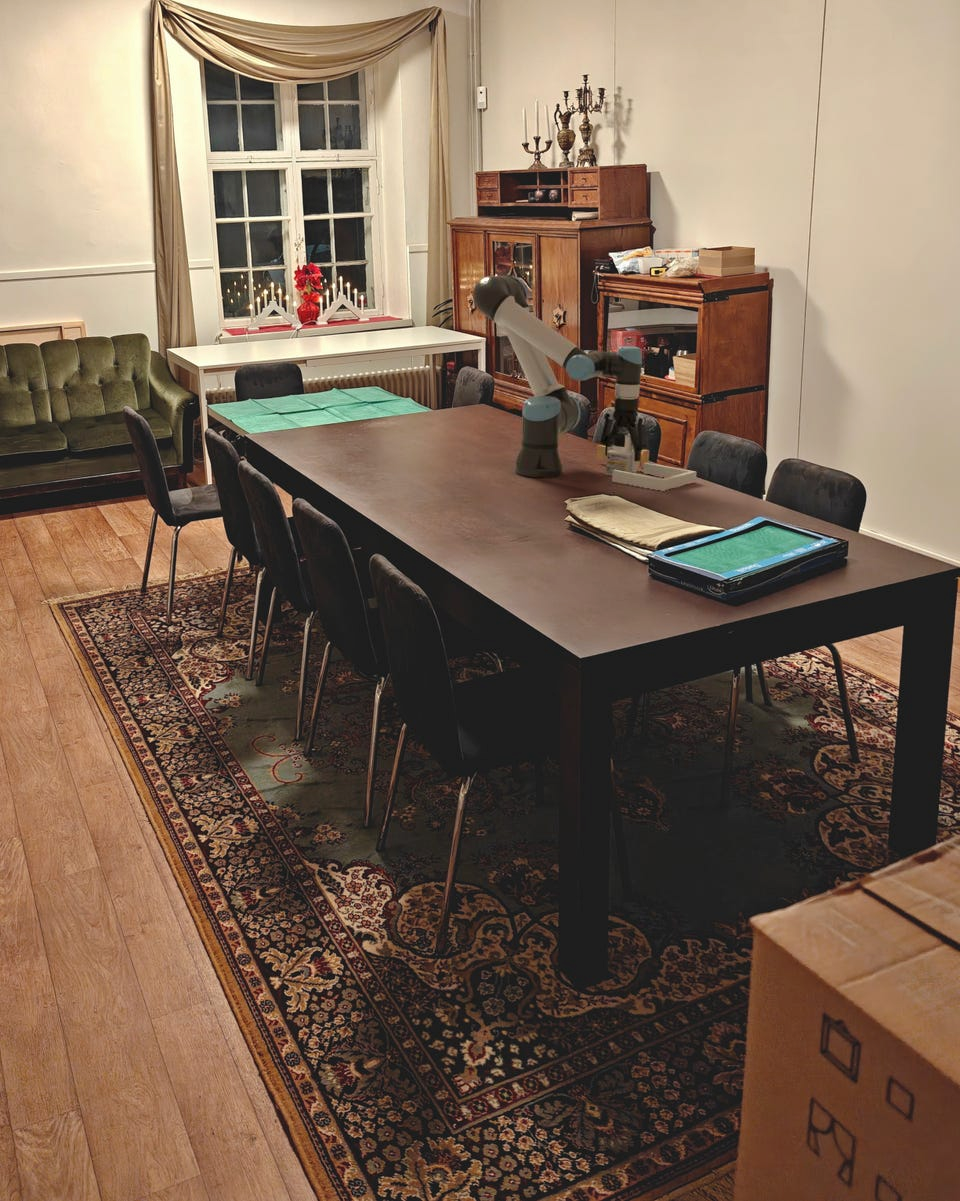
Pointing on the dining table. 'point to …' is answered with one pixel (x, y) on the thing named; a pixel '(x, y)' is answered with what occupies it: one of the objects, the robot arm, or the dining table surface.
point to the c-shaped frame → (653, 481)
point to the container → (620, 454)
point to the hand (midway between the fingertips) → (621, 468)
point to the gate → (643, 459)
